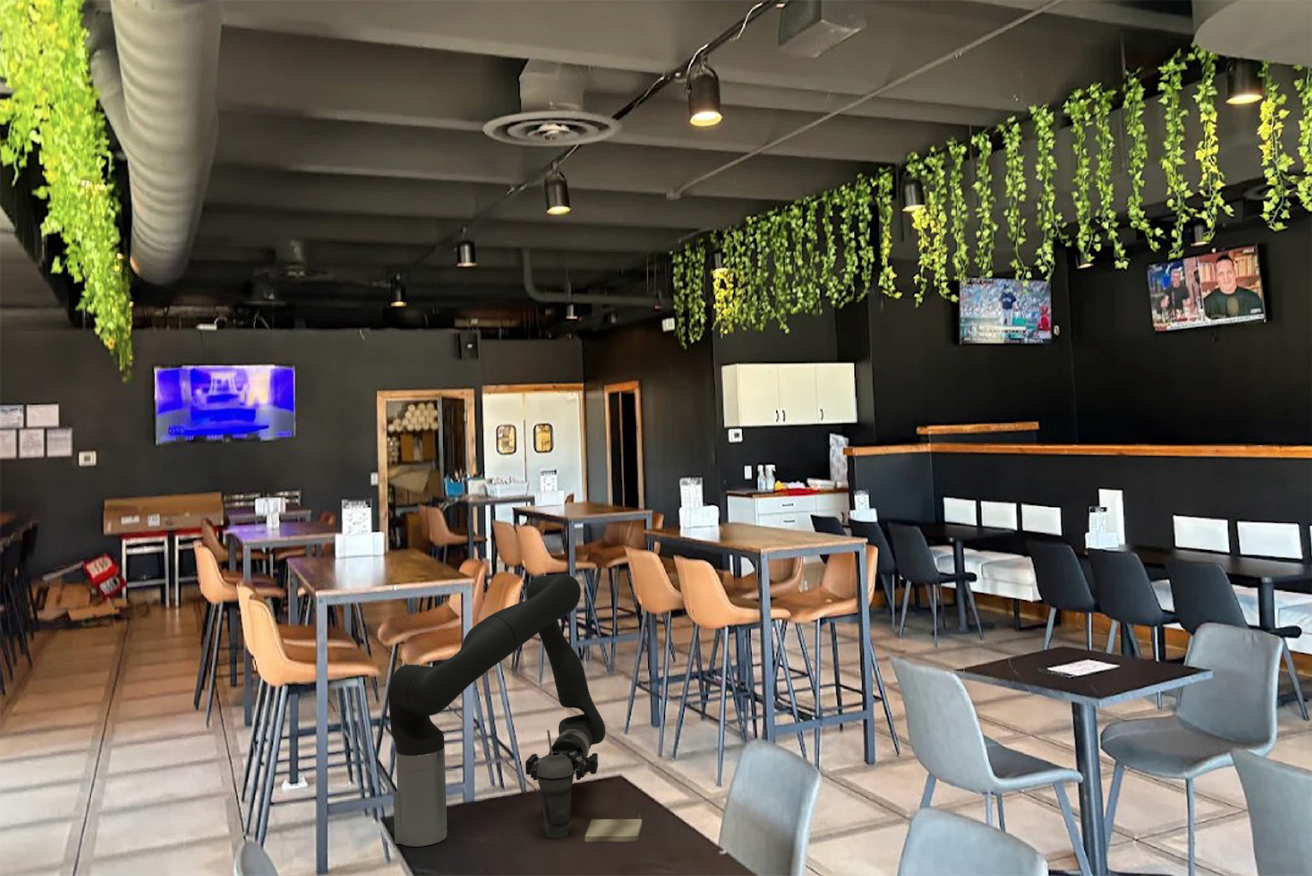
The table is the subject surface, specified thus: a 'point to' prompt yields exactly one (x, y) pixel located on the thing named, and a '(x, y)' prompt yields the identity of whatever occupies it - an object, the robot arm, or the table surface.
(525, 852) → the table surface
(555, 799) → the beverage cup
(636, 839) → the birch coaster
